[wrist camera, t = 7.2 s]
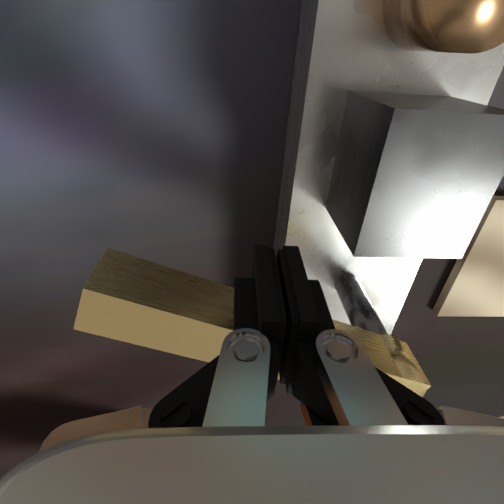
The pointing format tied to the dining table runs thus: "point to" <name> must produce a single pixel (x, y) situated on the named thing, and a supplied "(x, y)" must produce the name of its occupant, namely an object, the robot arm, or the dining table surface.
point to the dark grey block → (414, 173)
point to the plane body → (332, 112)
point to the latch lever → (196, 315)
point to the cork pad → (478, 271)
